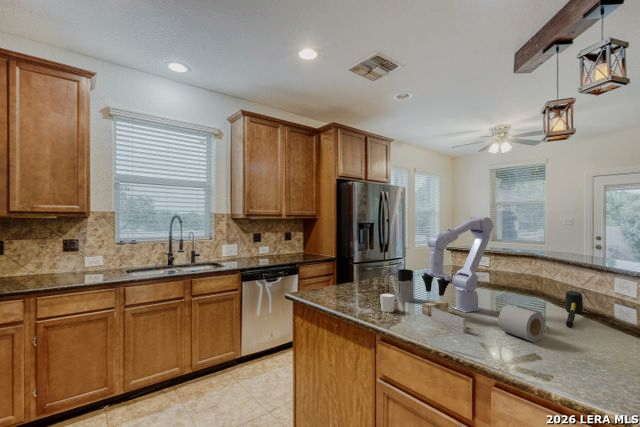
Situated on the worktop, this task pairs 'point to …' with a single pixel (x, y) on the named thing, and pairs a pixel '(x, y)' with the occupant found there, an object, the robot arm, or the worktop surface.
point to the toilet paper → (522, 323)
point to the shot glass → (387, 302)
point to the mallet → (573, 306)
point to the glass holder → (404, 285)
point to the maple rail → (439, 305)
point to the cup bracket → (448, 319)
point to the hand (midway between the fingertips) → (434, 293)
